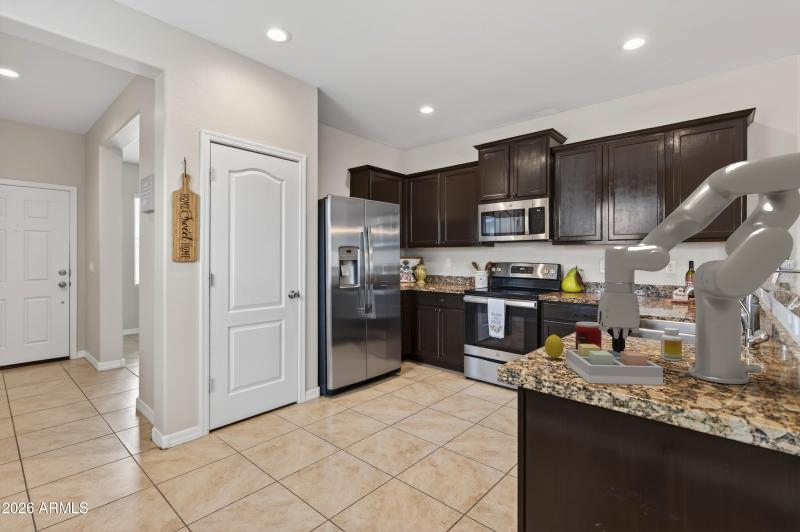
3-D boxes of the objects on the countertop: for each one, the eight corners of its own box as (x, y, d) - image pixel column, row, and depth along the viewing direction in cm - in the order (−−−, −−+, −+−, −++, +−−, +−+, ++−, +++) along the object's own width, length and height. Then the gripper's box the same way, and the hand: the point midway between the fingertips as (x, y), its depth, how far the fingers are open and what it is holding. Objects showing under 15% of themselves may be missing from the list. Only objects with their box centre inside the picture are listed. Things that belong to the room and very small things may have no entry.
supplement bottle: (686, 361, 120) (686, 330, 119) (668, 361, 120) (668, 330, 119) (673, 356, 125) (674, 327, 125) (657, 356, 125) (657, 327, 125)
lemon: (565, 361, 120) (565, 336, 120) (546, 360, 121) (546, 335, 121) (561, 357, 126) (561, 332, 125) (543, 356, 127) (543, 332, 127)
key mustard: (594, 354, 114) (594, 344, 114) (600, 358, 109) (600, 347, 109) (577, 354, 114) (577, 344, 114) (583, 357, 110) (583, 347, 110)
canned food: (602, 355, 127) (602, 322, 127) (600, 361, 121) (600, 326, 120) (577, 352, 131) (577, 320, 131) (573, 357, 125) (573, 324, 125)
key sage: (606, 361, 106) (606, 351, 105) (613, 366, 101) (613, 355, 101) (588, 361, 106) (588, 350, 106) (595, 366, 101) (595, 354, 101)
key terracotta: (638, 362, 105) (638, 351, 105) (647, 367, 100) (647, 355, 100) (620, 362, 105) (620, 351, 105) (628, 366, 101) (628, 355, 100)
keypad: (628, 365, 115) (628, 350, 115) (662, 385, 97) (663, 367, 97) (566, 364, 117) (566, 349, 117) (588, 383, 99) (588, 365, 99)
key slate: (623, 360, 113) (623, 349, 113) (631, 364, 108) (631, 353, 108) (607, 359, 114) (607, 349, 113) (614, 363, 109) (614, 353, 109)
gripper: (639, 287, 113) (639, 349, 114) (587, 287, 115) (586, 348, 116) (653, 289, 106) (652, 355, 106) (597, 289, 108) (596, 354, 108)
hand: (618, 351), depth 111 cm, fingers closed
